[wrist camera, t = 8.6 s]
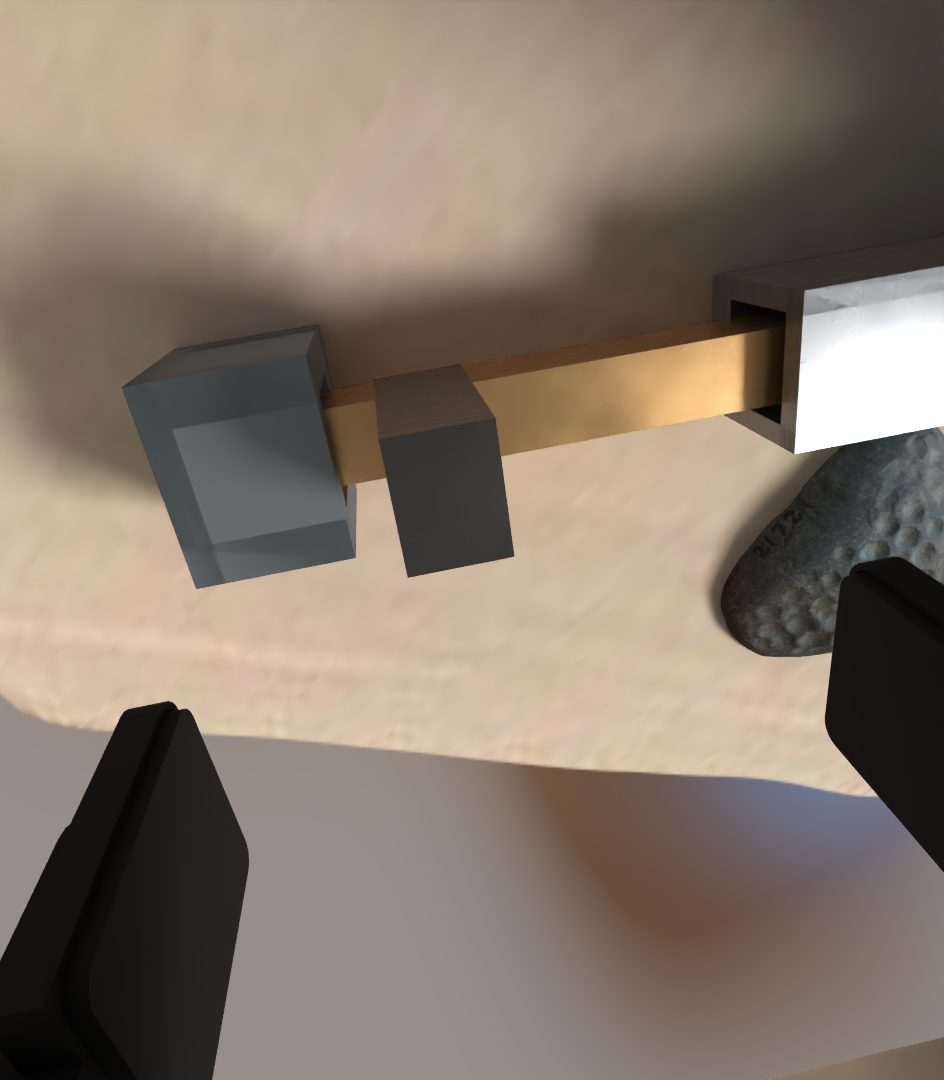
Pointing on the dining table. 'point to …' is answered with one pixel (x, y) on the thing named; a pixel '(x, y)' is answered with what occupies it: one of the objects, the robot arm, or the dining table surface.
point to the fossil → (838, 541)
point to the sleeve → (849, 342)
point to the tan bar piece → (533, 421)
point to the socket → (246, 455)
